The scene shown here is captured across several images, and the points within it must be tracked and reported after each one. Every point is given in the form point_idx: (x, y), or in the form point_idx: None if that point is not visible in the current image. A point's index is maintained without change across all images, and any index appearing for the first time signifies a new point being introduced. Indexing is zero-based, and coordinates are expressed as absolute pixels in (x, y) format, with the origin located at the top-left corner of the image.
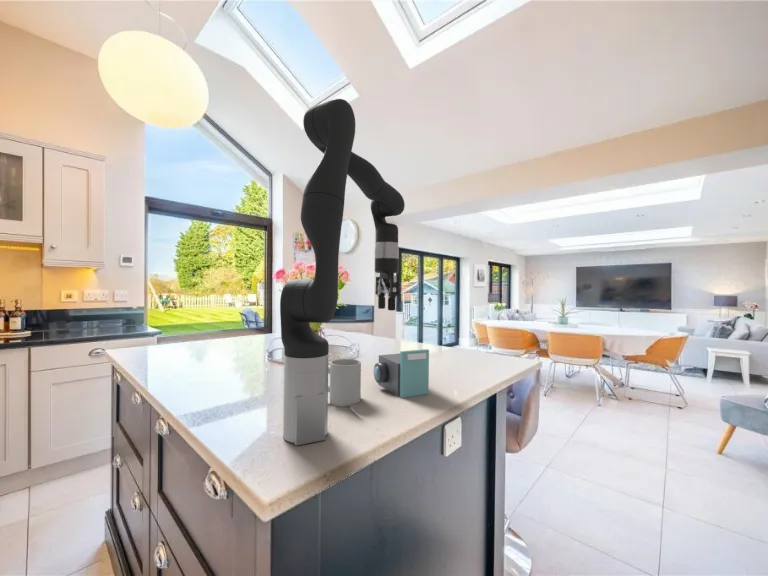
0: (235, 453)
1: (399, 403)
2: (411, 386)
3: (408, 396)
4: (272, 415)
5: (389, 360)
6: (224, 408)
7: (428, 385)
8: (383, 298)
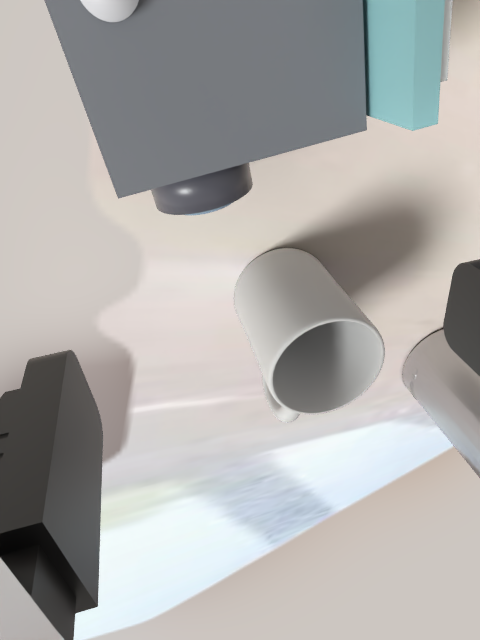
0: None
1: None
2: None
3: None
4: (323, 429)
5: (267, 156)
6: (257, 508)
7: None
8: (63, 522)
